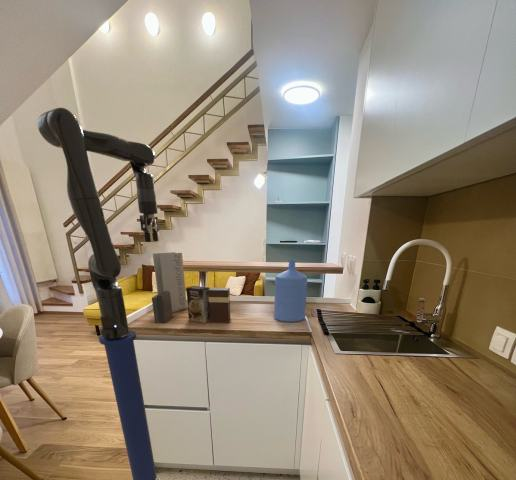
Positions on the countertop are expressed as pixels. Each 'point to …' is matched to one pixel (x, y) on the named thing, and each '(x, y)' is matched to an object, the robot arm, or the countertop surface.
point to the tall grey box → (171, 278)
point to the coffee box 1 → (198, 304)
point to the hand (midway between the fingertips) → (152, 241)
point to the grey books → (162, 307)
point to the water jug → (290, 295)
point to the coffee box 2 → (219, 304)
